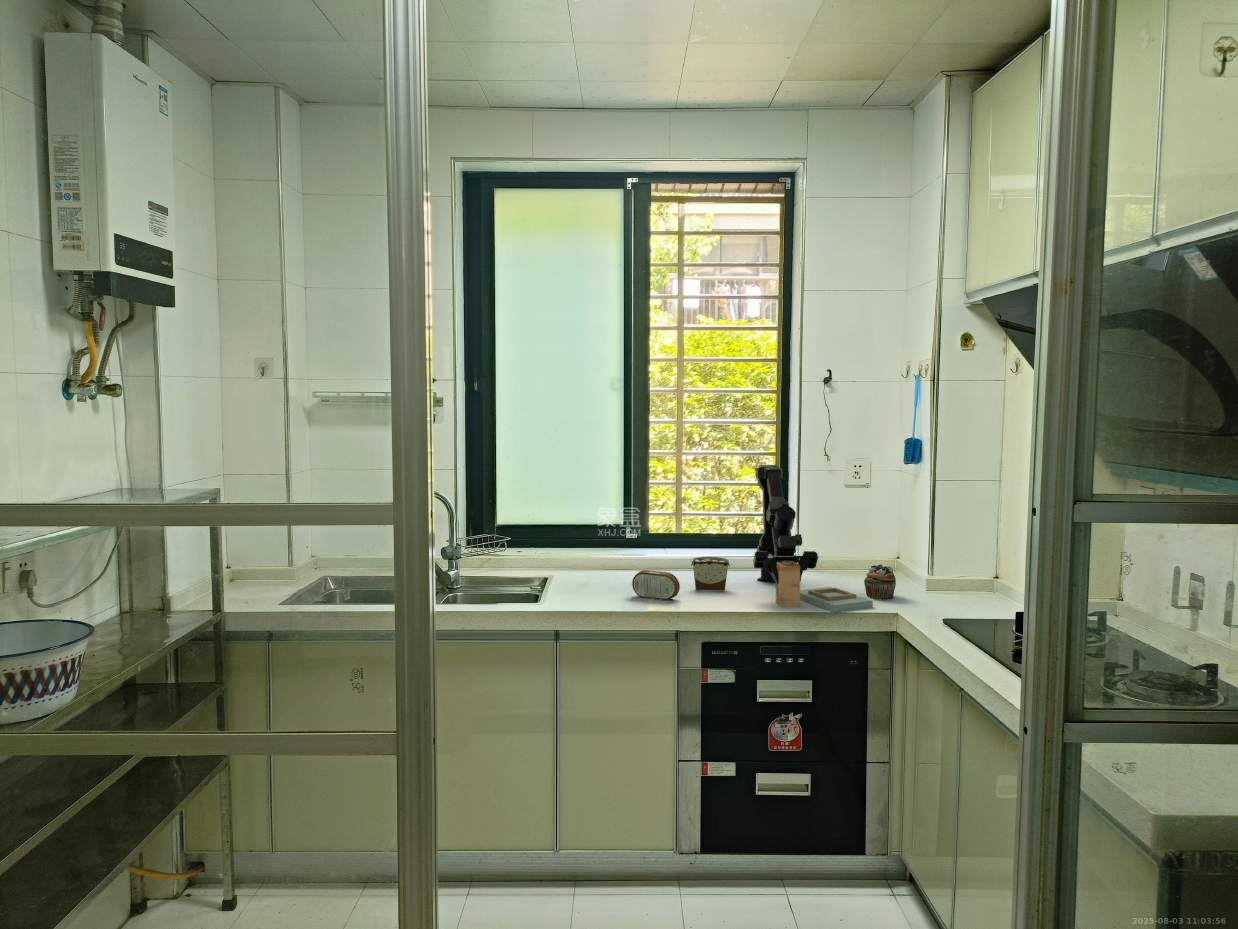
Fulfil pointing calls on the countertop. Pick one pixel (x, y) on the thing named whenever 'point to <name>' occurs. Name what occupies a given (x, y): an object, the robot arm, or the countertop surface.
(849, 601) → the base slab
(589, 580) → the countertop surface
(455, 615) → the countertop surface
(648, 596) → the tin
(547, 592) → the countertop surface
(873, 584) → the cupcake
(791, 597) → the terracotta block
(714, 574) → the food container
